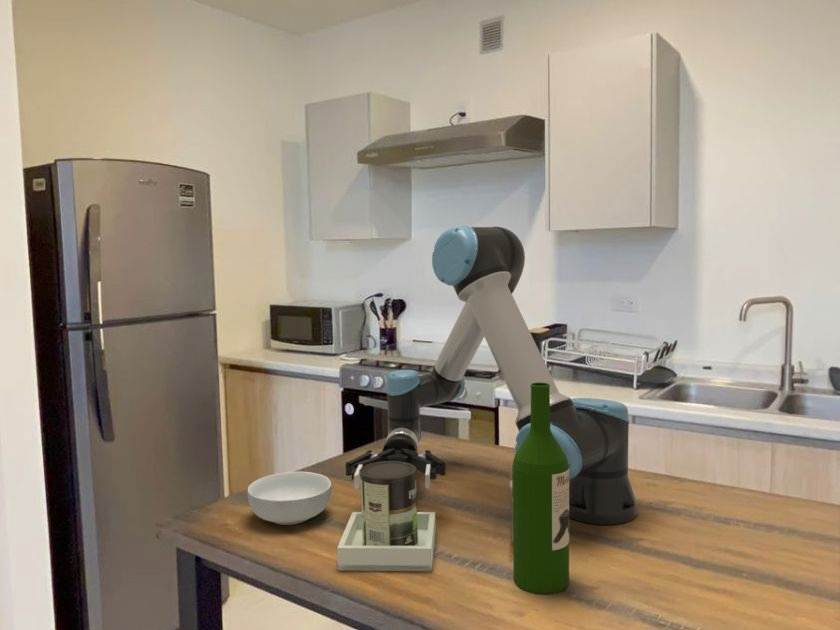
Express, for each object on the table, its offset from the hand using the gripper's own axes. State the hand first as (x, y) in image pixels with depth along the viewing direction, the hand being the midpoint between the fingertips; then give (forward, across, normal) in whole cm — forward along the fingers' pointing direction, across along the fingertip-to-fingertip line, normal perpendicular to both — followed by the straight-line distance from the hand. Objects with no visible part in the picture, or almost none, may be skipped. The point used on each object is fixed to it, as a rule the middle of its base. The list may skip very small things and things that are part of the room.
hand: (391, 482), depth 129 cm
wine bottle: (+18, -26, -10) cm, 33 cm away
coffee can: (+7, 0, -9) cm, 12 cm away
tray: (+7, 0, -10) cm, 13 cm away
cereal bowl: (-8, +22, -11) cm, 26 cm away
